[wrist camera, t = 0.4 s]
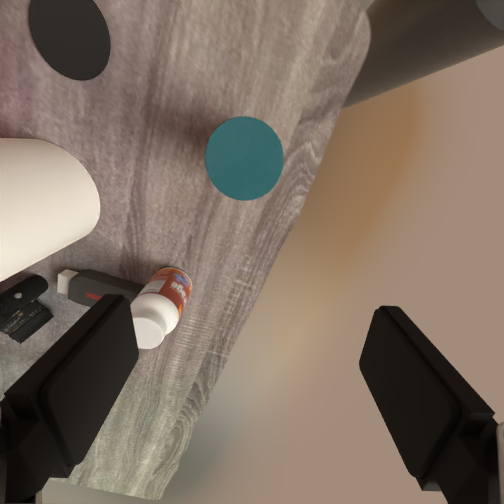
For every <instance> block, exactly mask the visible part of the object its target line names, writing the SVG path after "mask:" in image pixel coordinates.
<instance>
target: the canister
mask: <svg viewBox="0 0 504 504" xmlns="http://www.w3.org/2000/svg"><path fill="white" fill-rule="evenodd" d="M99 215H100V199H99V195H98V191H97V188H96V186H95V184H94V182H93V180H92V178H91V176H90V175H89V173H88V172H87V170H86V169H85V168H84V167H83V165H82V164H81V163H80V162H79V161H78V160H77V159H76V158H75V157H73V156H72V155H71V154H70V153H68V152H67V151H65V150H64V149H62V148H60V147H59V146H57V145H54V144H52V143H50V142H47V141H43V140H38V139H19V138H0V282H1V281H3V280H5V279H7V278H8V277H10V276H12V275H14V274H16V273H18V272H20V271H21V270H23V269H25V268H27V267H29V266H31V265H33V264H35V263H36V262H38V261H40V260H42V259H44V258H46V257H48V256H49V255H51V254H53V253H55V252H57V251H59V250H61V249H62V248H64V247H66V246H68V245H70V244H72V243H74V242H75V241H77V240H79V239H81V238H83V237H85V236H86V235H88V234H89V233H90V232H91V231H92V230H93V229H94V227H95V226H96V224H97V222H98V219H99Z"/></svg>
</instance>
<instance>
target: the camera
mask: <svg viewBox="0 0 504 504" xmlns="http://www.w3.org/2000/svg"><path fill="white" fill-rule="evenodd" d="M47 289H48V282H47V281H46V280H45V279H44V278H42V277H41V276H38V275H36V276H31V277H29V278H27V279H25V280H24V281H22V282H20V283H18V284H17V285H15V286H13V287H12V288H10V289H8V290H6V291H5V292H3V293H1V294H0V331H1V332H3V333H5V334H8V335H9V336H10V338H12V339H13V340H16V341H17V342H20V344H21V343H22V342H24V341H25V340H26V339H27V338H29V337H30V336H31V335H32V334H34V333H35V332H36V331H37V330H39V329H40V328H41V327H42V326H43V325H45V324H46V323H47V322H48V321H49V320H50V319H52V318H53V317H54V315H53V314H52V313H50V312H49V310H47V309H46V308H43V307H42V306H41V304H40V303H39V302H37V301H36V300H35V299H36V298H38V297H39V296H40V295H41V294H42V293H44V292H45V291H46V290H47Z"/></svg>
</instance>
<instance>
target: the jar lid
mask: <svg viewBox="0 0 504 504" xmlns="http://www.w3.org/2000/svg"><path fill="white" fill-rule="evenodd" d="M205 163H206V169H207V172H208V175H209V177H210V179H211V181H212V182H213V184H214V185H215V186H216V188H217V189H218V190H219V191H220V192H222V193H223V194H225V195H226V196H228V197H230V198H233V199H236V200H243V201H245V200H254V199H257V198H260V197H262V196H264V195H265V194H267V193H268V192H269V191H270V190H271V189H272V188H273V187H274V186H275V185H276V183H277V182H278V180H279V178H280V176H281V173H282V170H283V164H284V155H283V149H282V145H281V141H280V140H279V138H278V136H277V135H276V133H275V132H274V131H273V130H272V128H271V127H269V126H268V125H267V124H266V123H264V122H263V121H261V120H258V119H256V118H252V117H246V116H245V117H235V118H232V119H229V120H227V121H225V122H224V123H222V124H221V125H220V126H219V127H218V128H217V129H216V130H215V131H214V132H213V134H212V135H211V137H210V139H209V141H208V144H207V147H206V152H205Z"/></svg>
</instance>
